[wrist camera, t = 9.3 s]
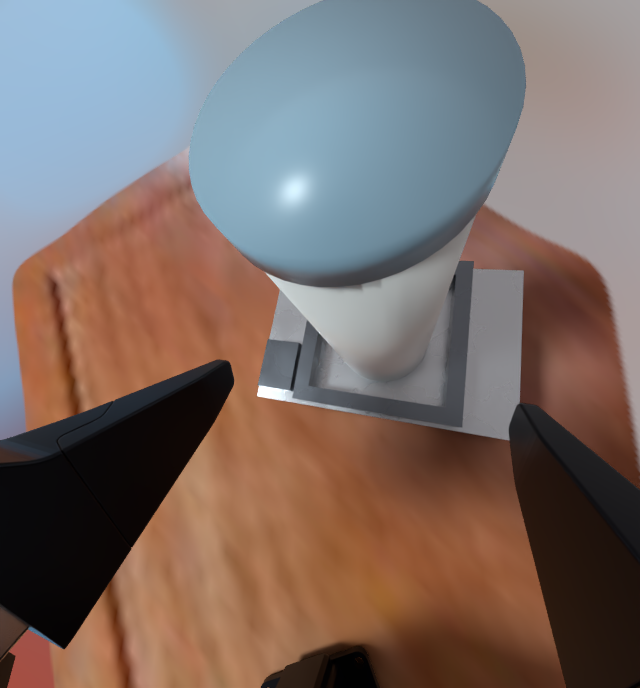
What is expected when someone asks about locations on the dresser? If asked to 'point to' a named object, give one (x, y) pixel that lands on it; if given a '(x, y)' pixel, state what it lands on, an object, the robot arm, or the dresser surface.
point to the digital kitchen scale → (430, 375)
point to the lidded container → (361, 162)
